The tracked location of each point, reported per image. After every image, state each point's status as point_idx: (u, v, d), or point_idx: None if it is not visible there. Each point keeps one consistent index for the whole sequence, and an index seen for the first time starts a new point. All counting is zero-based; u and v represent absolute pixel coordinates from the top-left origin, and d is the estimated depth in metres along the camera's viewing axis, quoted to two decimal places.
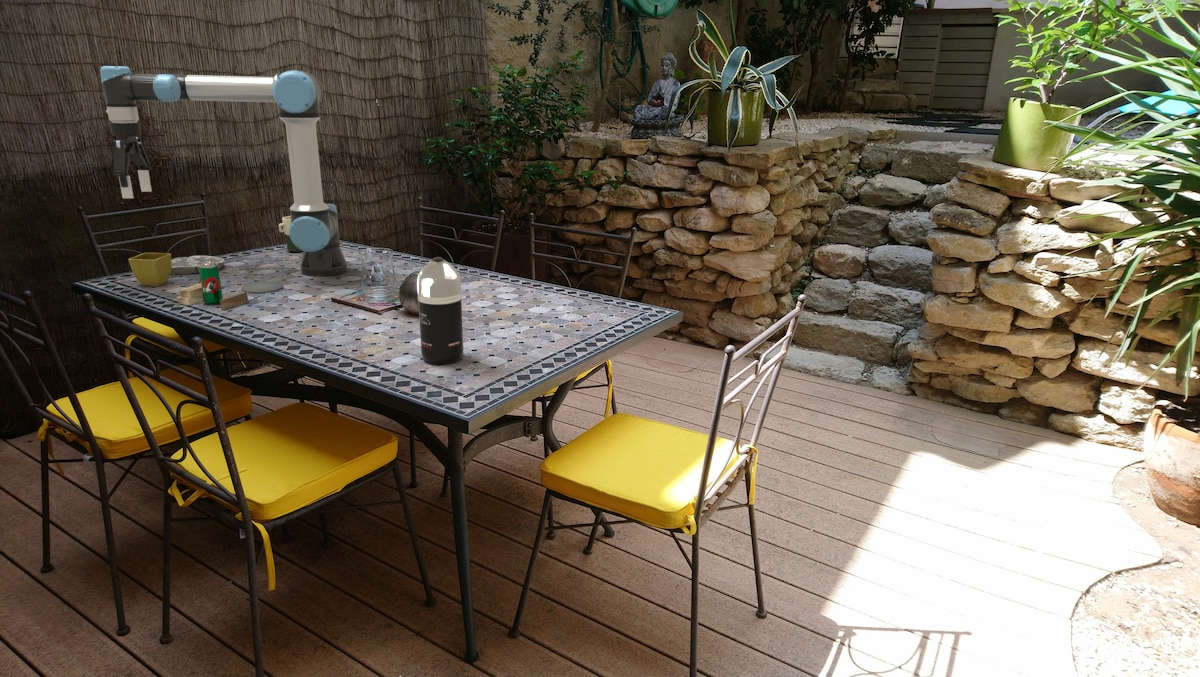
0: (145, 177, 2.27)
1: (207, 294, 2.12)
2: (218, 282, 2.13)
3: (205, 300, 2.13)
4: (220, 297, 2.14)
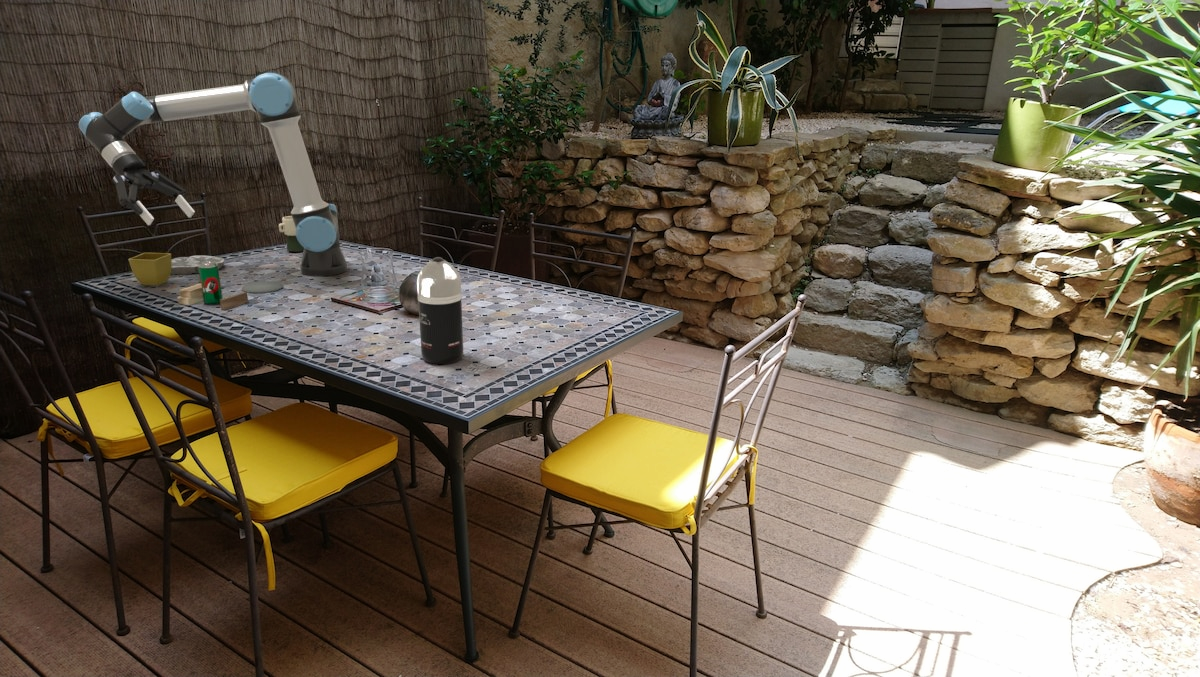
0: (182, 202, 2.16)
1: (207, 294, 2.12)
2: (218, 282, 2.13)
3: (205, 300, 2.13)
4: (220, 297, 2.14)
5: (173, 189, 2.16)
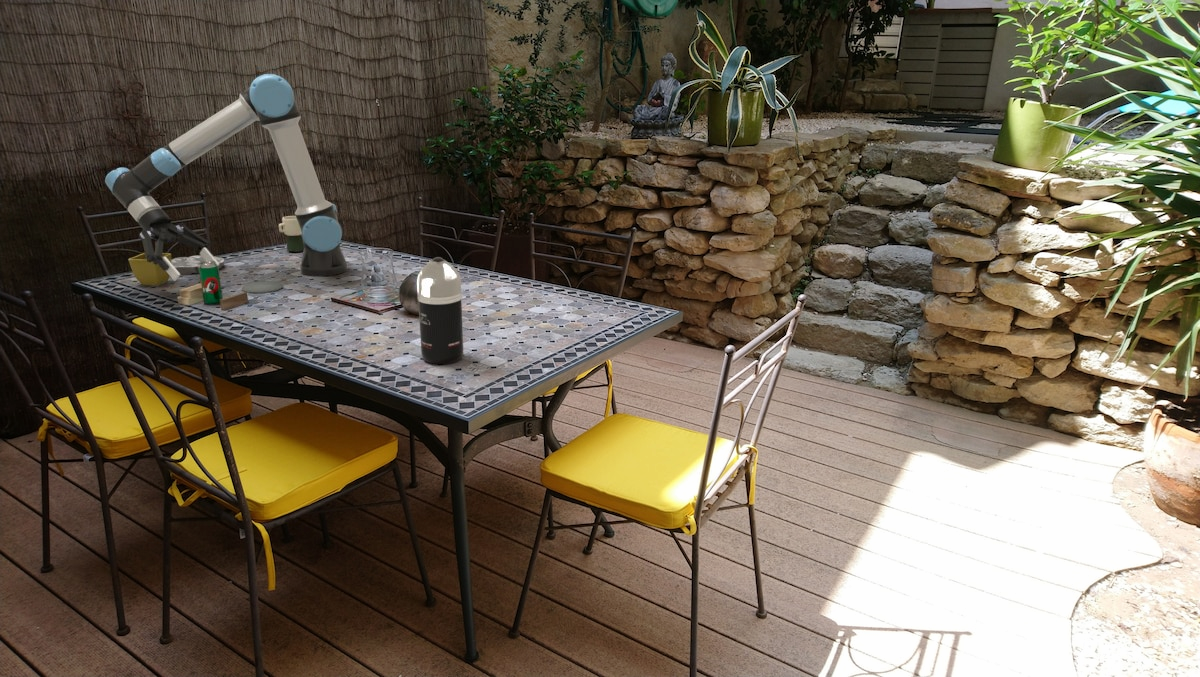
0: (206, 255, 2.18)
1: (207, 294, 2.12)
2: (218, 282, 2.13)
3: (205, 300, 2.13)
4: (220, 297, 2.14)
5: (198, 242, 2.18)
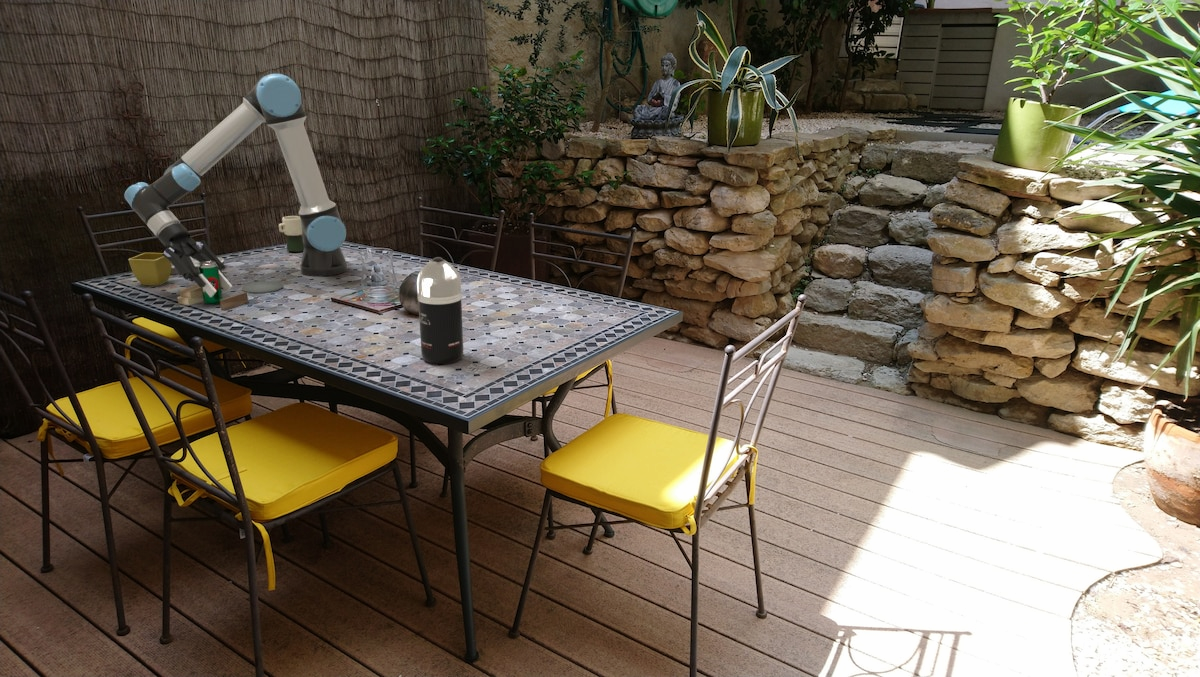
0: None
1: (207, 294, 2.12)
2: (218, 282, 2.13)
3: (205, 300, 2.13)
4: (220, 297, 2.14)
5: None
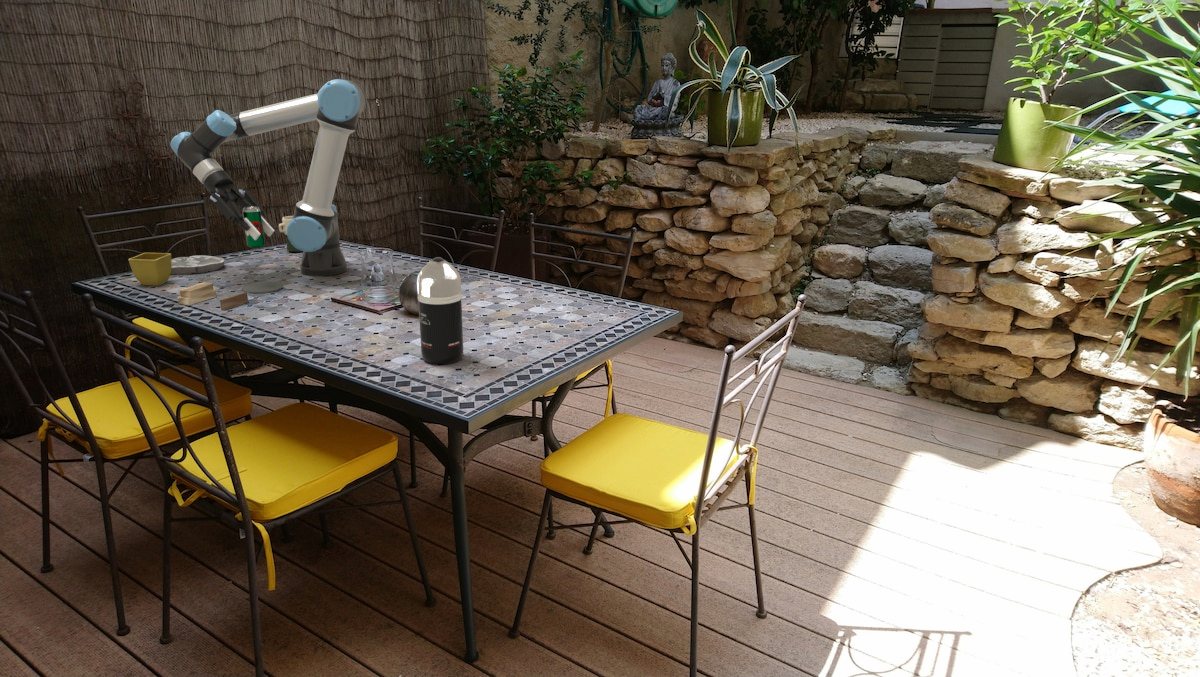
0: (262, 222, 2.25)
1: (251, 238, 2.23)
2: (261, 226, 2.24)
3: (249, 243, 2.23)
4: (263, 241, 2.25)
5: None
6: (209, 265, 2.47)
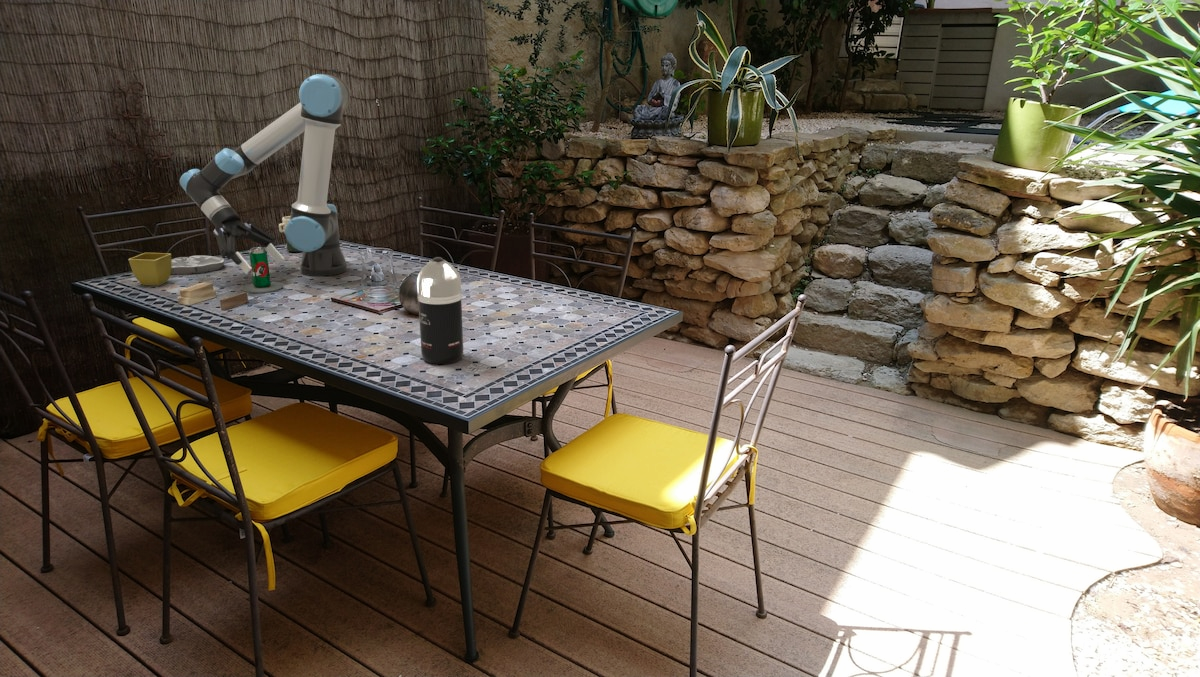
0: (272, 250, 2.33)
1: (257, 278, 2.27)
2: (267, 267, 2.28)
3: (255, 283, 2.28)
4: (268, 281, 2.30)
5: (264, 238, 2.33)
6: (209, 265, 2.47)
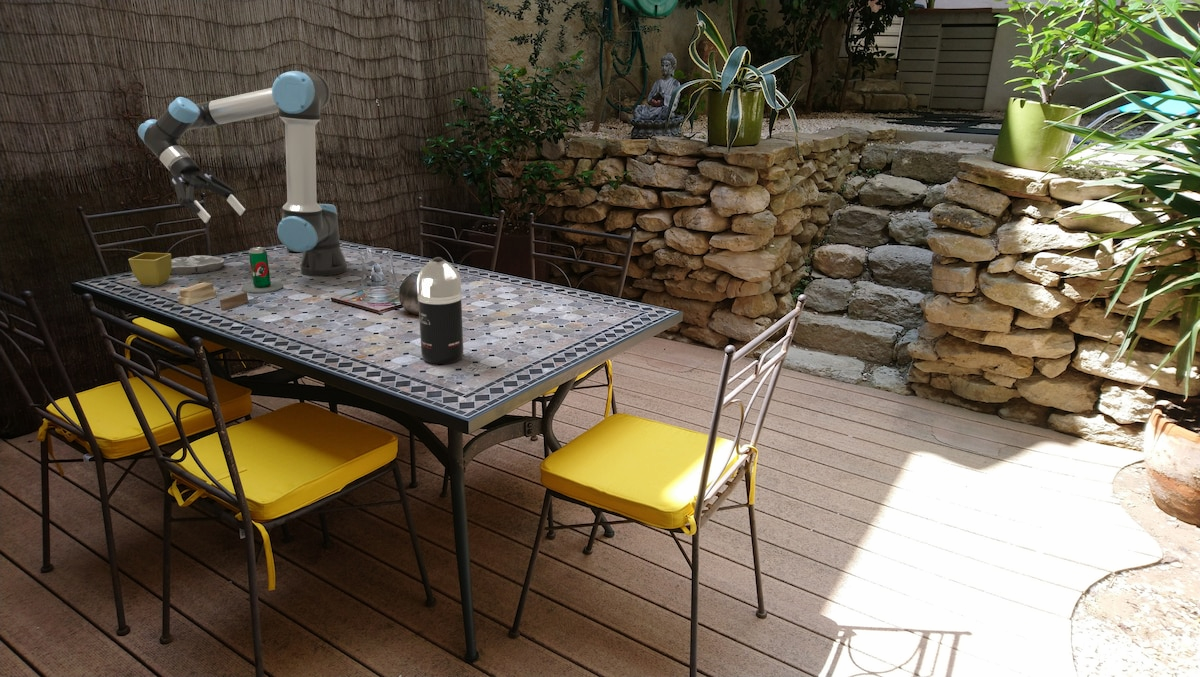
0: (233, 201, 2.32)
1: (257, 278, 2.27)
2: (267, 267, 2.28)
3: (255, 283, 2.28)
4: (268, 281, 2.30)
5: (225, 189, 2.32)
6: (209, 265, 2.47)
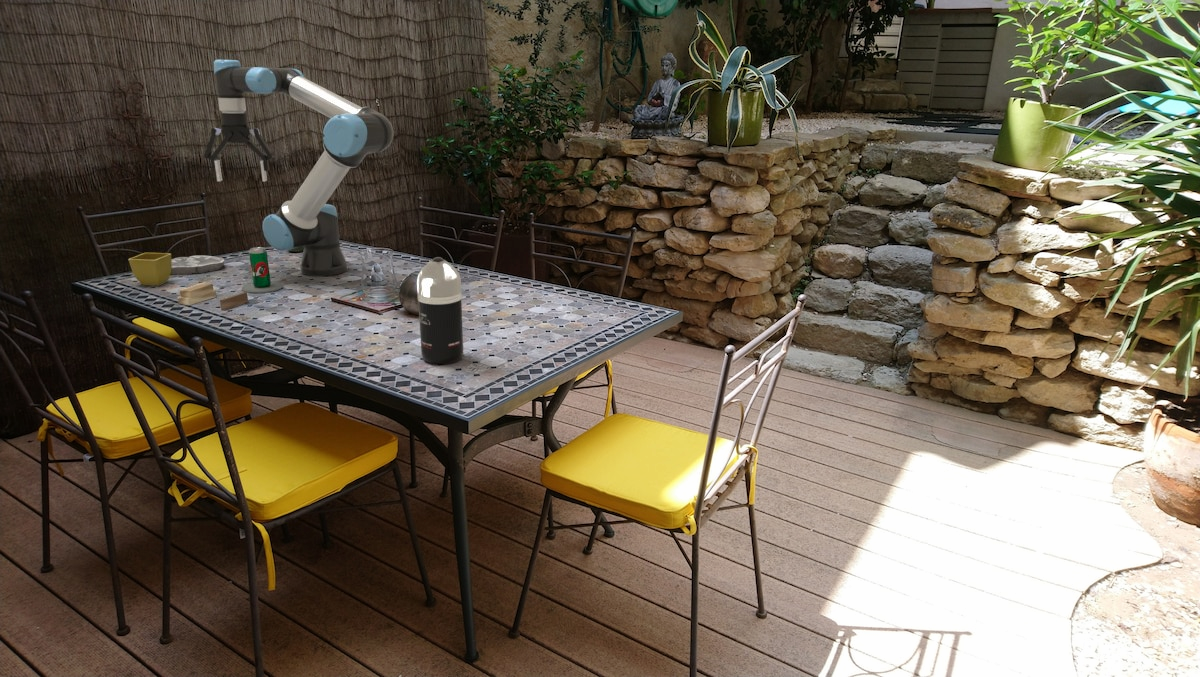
0: None
1: (257, 278, 2.27)
2: (267, 267, 2.28)
3: (255, 284, 2.28)
4: (269, 281, 2.30)
5: (259, 153, 2.34)
6: (209, 265, 2.47)
